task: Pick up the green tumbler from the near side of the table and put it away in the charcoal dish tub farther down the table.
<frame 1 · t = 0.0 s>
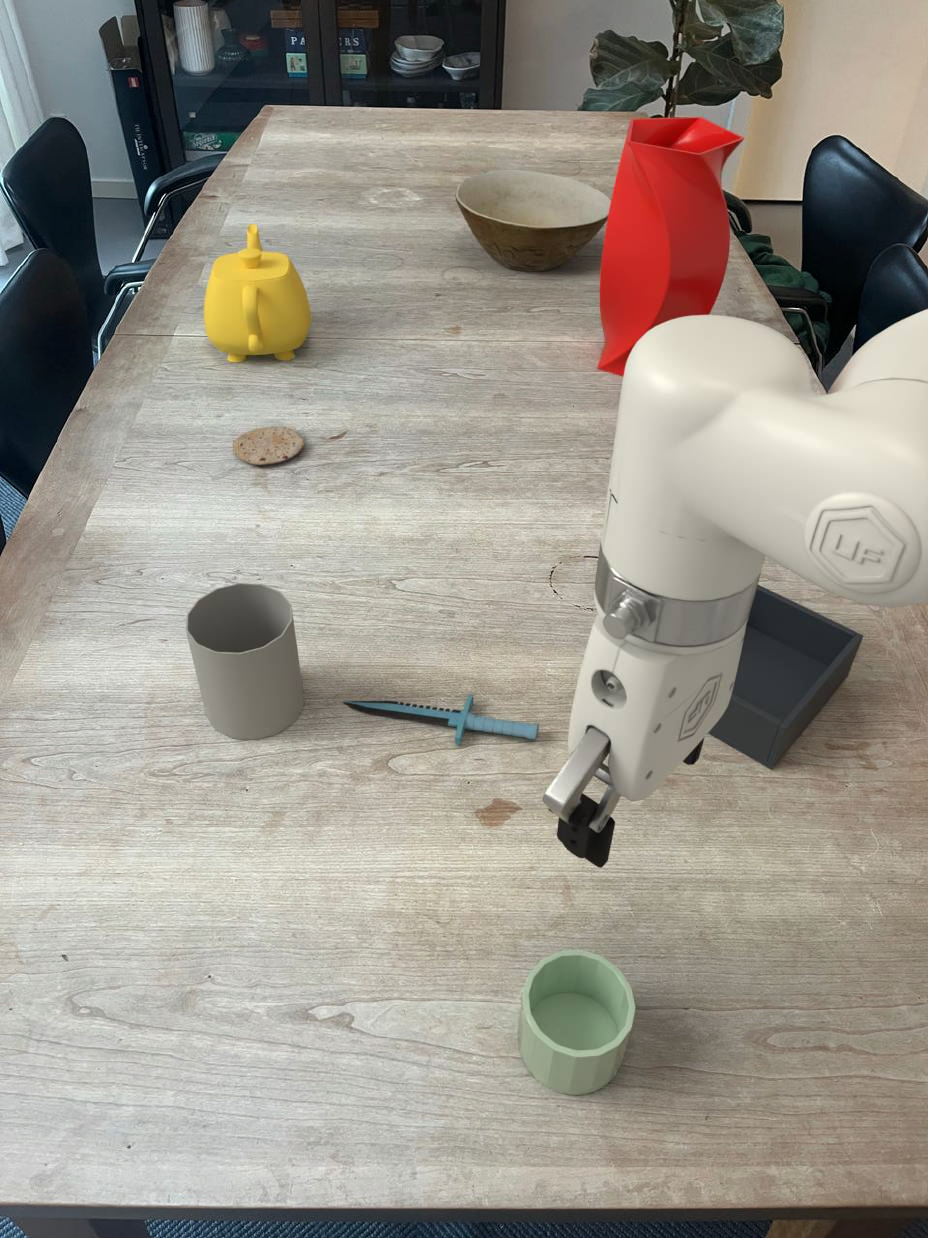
hand: (629, 798, 59), 16 cm above the table, tool pointing down, fingers open, 9 cm apart
bowl: (530, 259, 156), on the table
green tumbler: (570, 1041, 65), on the table
dish tub: (737, 681, 89), on the table
flatbread: (270, 450, 115), on the table
teapot: (262, 341, 135), on the table
vase: (652, 361, 132), on the table
knife: (437, 720, 85), on the table
cup: (255, 704, 86), on the table
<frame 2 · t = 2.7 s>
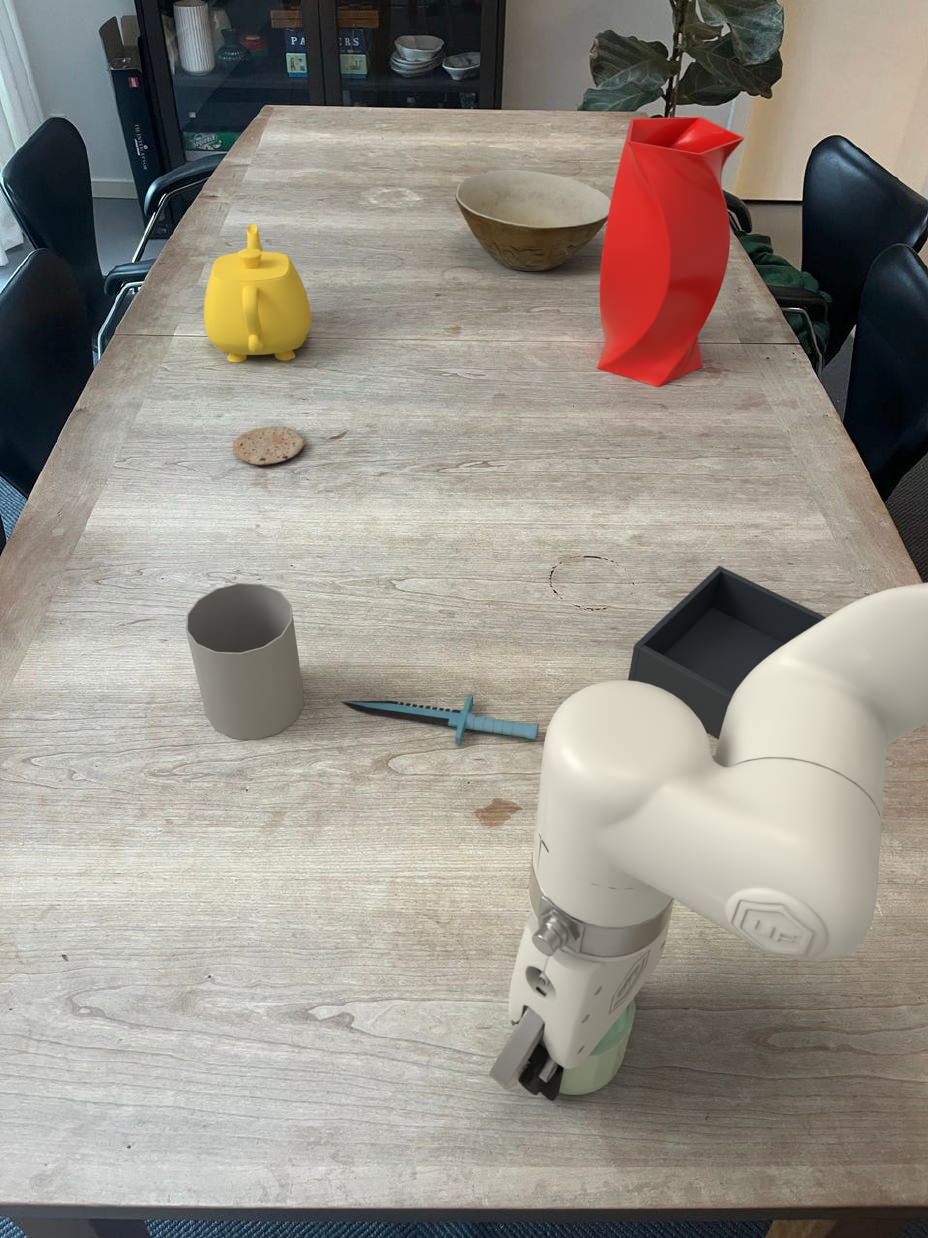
hand: (571, 1036, 64), 1 cm above the table, tool pointing down, fingers closed on green tumbler, 6 cm apart
green tumbler: (570, 1041, 65), on the table, touching gripper
everything else where it was.
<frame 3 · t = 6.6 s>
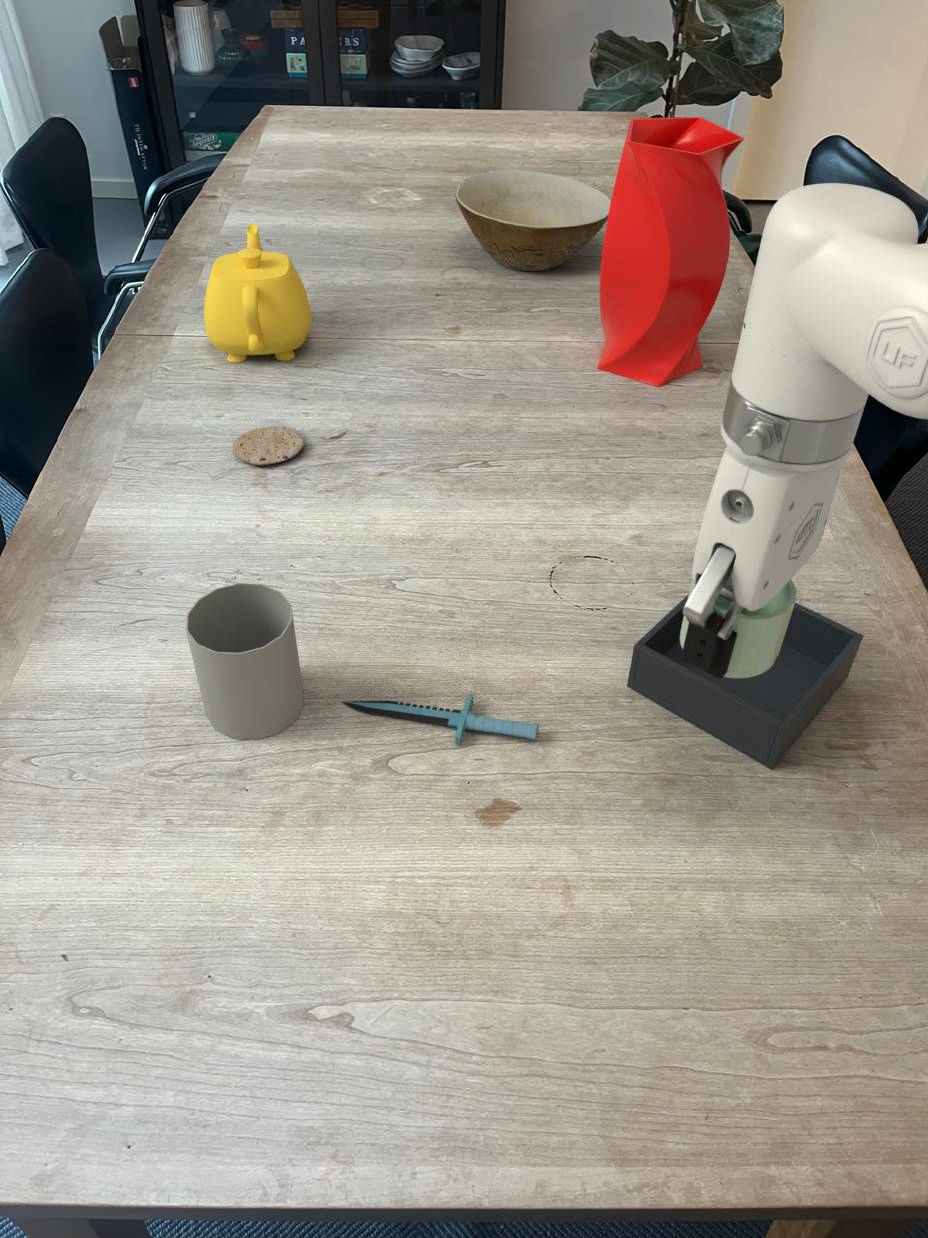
hand: (730, 636, 70), 16 cm above the table, tool pointing down, fingers closed on green tumbler, 6 cm apart
green tumbler: (728, 644, 70), point 15 cm above the table, touching gripper
everything else where it was.
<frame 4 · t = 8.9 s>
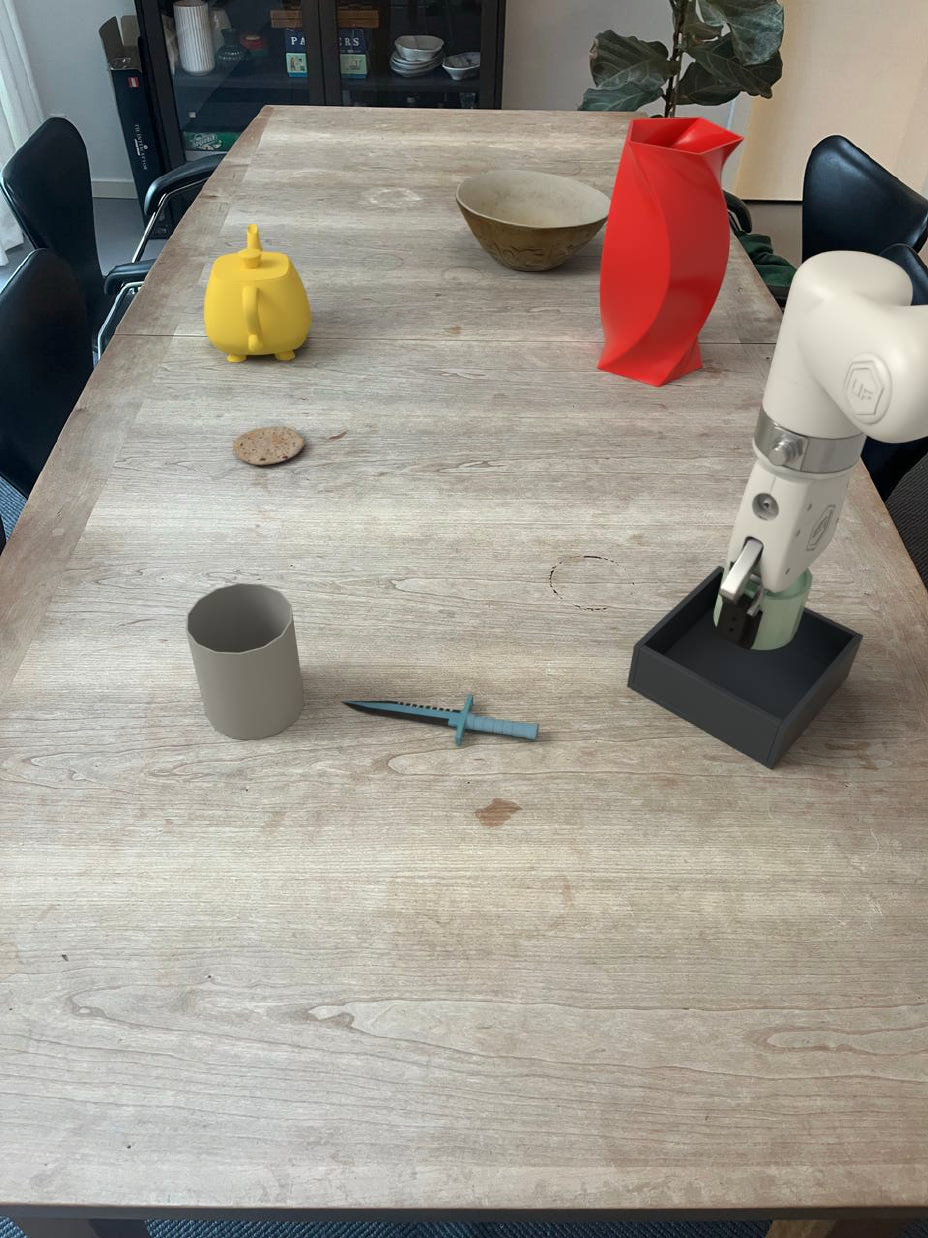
hand: (756, 615, 83), 8 cm above the table, tool pointing down, fingers closed on green tumbler, 6 cm apart
green tumbler: (754, 622, 84), point 7 cm above the table, touching gripper
everything else where it was.
when the fingers open (4 cm above the table, at t = 10.7 s): green tumbler drops 2 cm, resting on dish tub.
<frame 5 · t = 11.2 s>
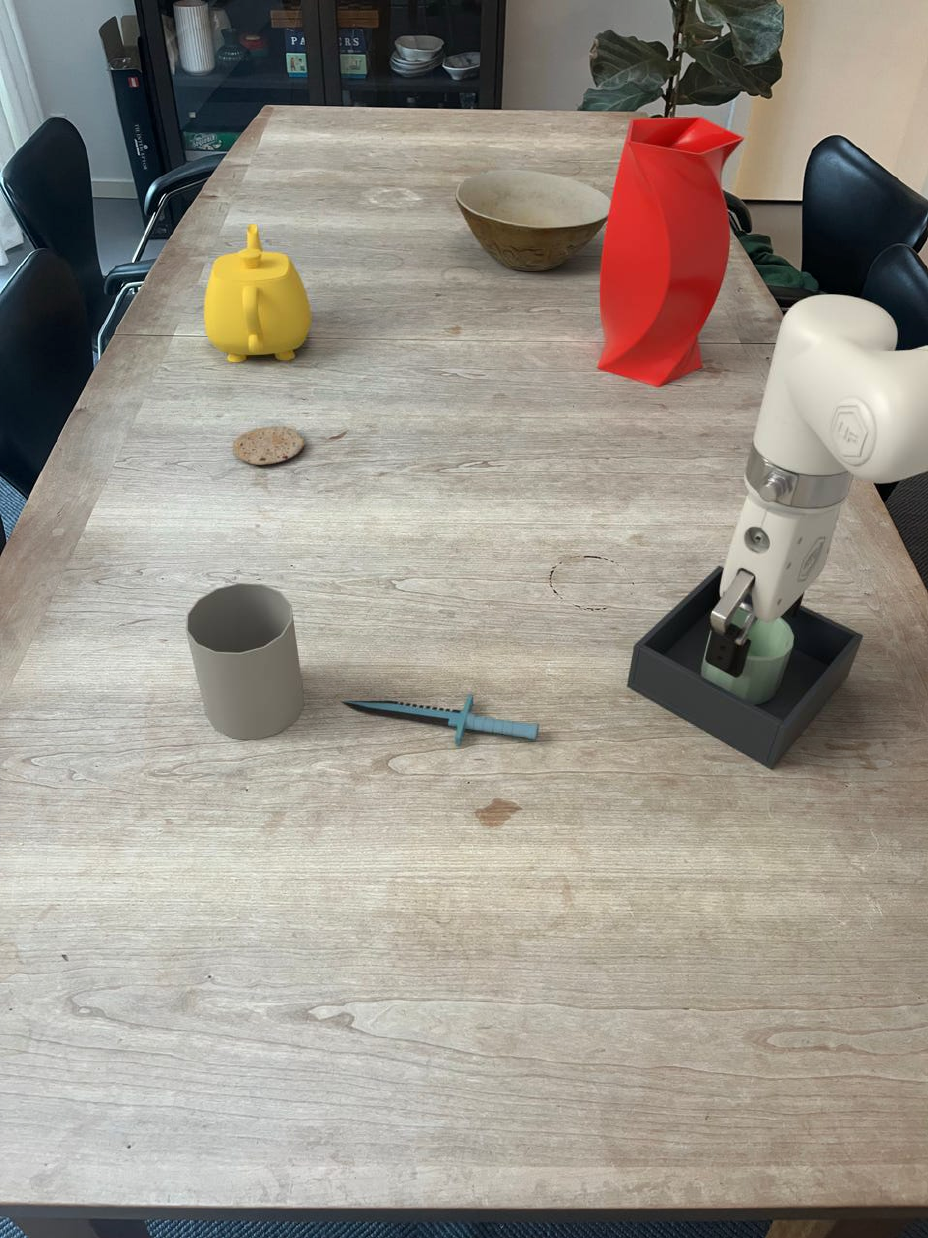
hand: (751, 637, 85), 5 cm above the table, tool pointing down, fingers open, 9 cm apart
green tumbler: (739, 677, 88), point 1 cm above the table, touching dish tub
everything else where it was.
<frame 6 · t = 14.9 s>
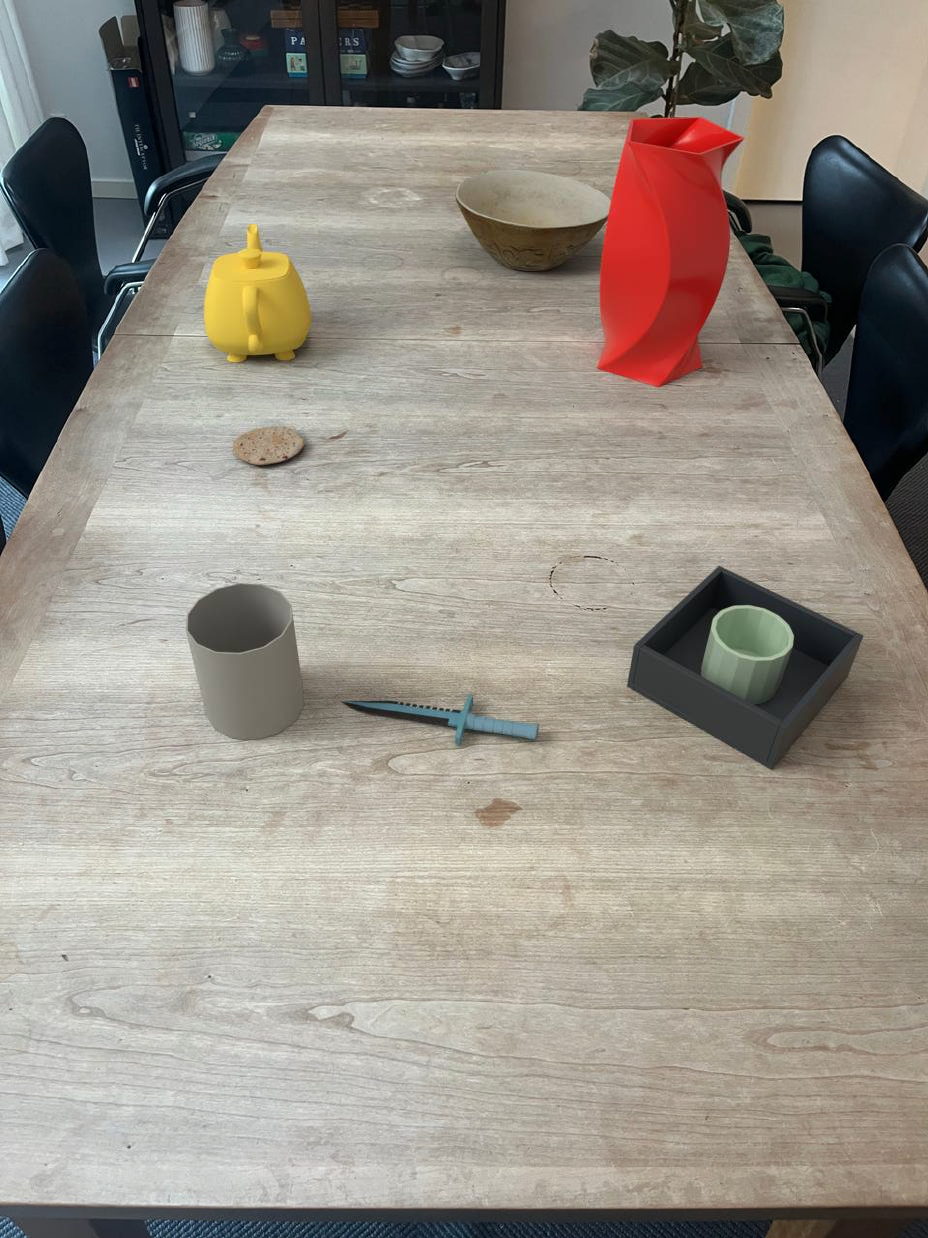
nothing on the table moved.
at the end: green tumbler inside the target area in the dish tub (0.0 cm from its centre), point 0.6 cm above the dish tub's base; the gripper is holding nothing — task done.
